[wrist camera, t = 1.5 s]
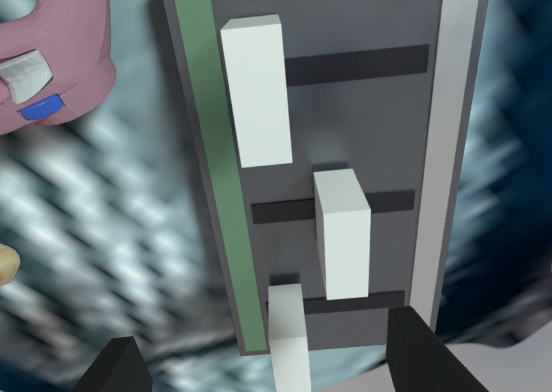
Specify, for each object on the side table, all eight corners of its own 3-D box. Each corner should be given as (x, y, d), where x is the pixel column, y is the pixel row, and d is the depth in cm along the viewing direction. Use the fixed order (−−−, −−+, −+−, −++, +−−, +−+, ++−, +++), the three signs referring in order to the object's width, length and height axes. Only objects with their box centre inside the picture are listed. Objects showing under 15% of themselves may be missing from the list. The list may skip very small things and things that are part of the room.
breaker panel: (475, -59, 13) (500, -64, 12) (423, 319, 23) (434, 341, 21) (168, -25, 14) (157, -25, 12) (242, 334, 23) (240, 357, 22)
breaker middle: (352, 168, 16) (370, 209, 13) (352, 246, 18) (368, 296, 15) (313, 172, 16) (323, 214, 13) (317, 249, 18) (326, 299, 15)
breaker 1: (278, 14, 13) (280, 23, 10) (287, 128, 15) (292, 162, 12) (230, 19, 13) (220, 30, 10) (246, 132, 15) (241, 167, 12)
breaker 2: (301, 283, 19) (306, 336, 16) (305, 338, 21) (311, 395, 18) (268, 286, 19) (268, 340, 16) (276, 341, 21) (277, 397, 18)
